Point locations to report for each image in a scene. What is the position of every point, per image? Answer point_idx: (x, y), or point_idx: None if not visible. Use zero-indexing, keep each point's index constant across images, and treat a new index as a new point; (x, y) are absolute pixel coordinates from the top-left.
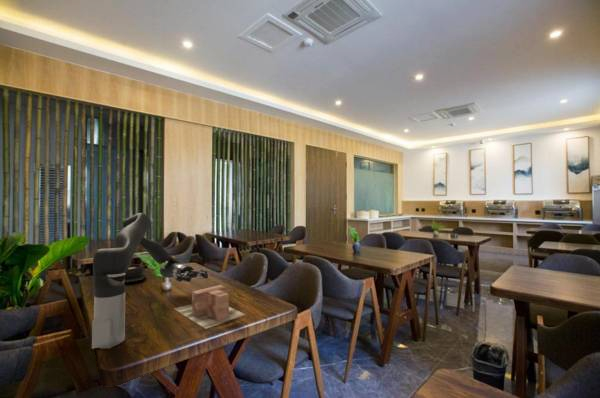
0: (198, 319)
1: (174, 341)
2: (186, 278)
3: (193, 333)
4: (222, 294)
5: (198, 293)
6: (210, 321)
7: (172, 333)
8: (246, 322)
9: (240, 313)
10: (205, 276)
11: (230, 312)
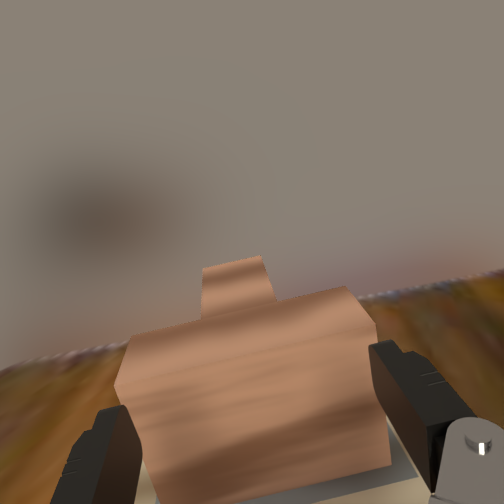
0: None
1: (461, 304)
2: (429, 367)
3: (392, 326)
4: (230, 268)
5: (337, 293)
6: None
7: (483, 344)
8: None
9: None
10: (130, 447)
11: None
